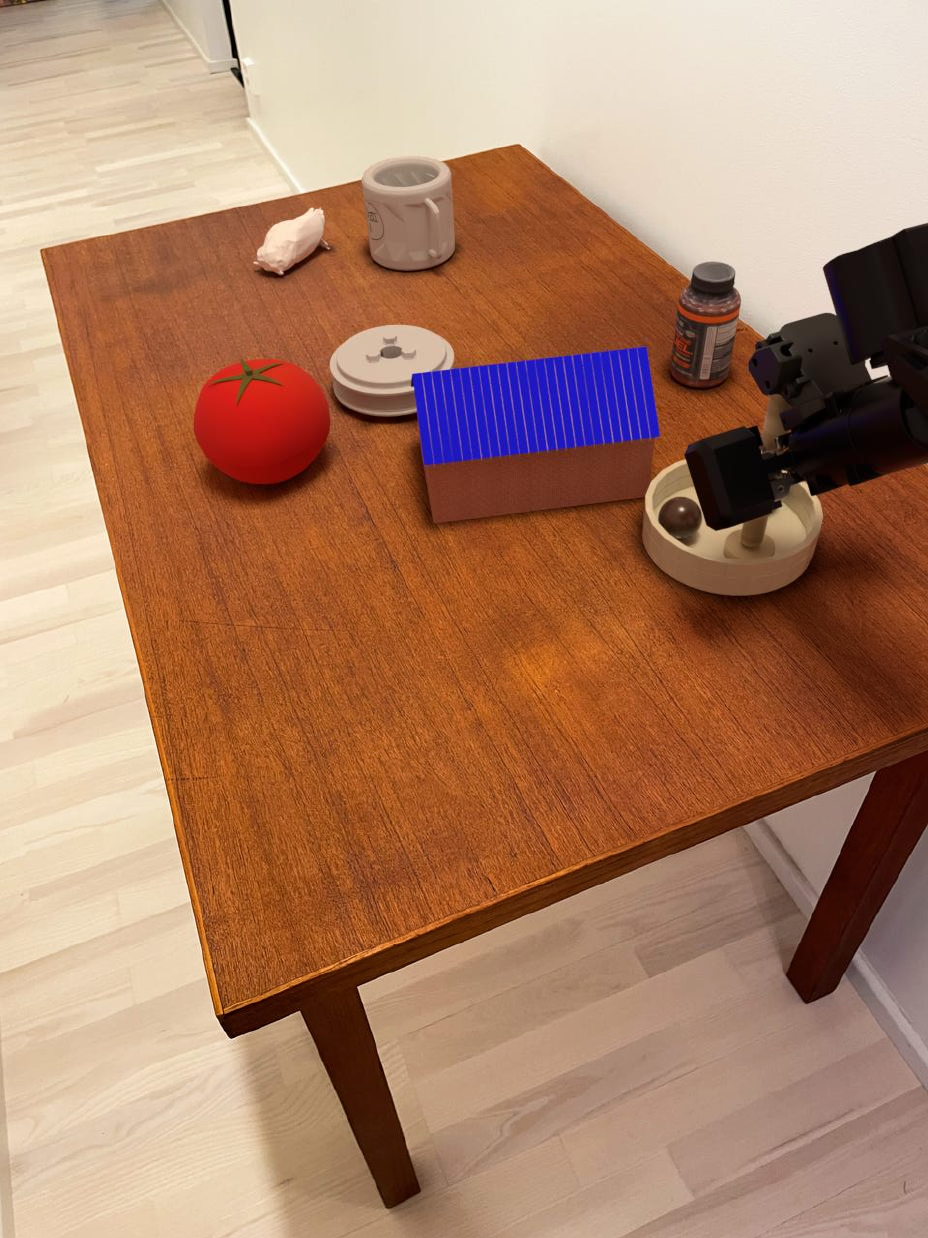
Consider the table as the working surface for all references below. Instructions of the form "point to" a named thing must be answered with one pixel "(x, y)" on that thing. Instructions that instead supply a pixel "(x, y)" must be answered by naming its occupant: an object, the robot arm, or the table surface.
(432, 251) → the mug
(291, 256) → the pale pink lumpy figure
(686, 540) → the bowl
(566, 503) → the house
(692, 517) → the bead
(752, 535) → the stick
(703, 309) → the supplement bottle
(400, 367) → the lid
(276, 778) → the table surface
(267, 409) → the tomato
